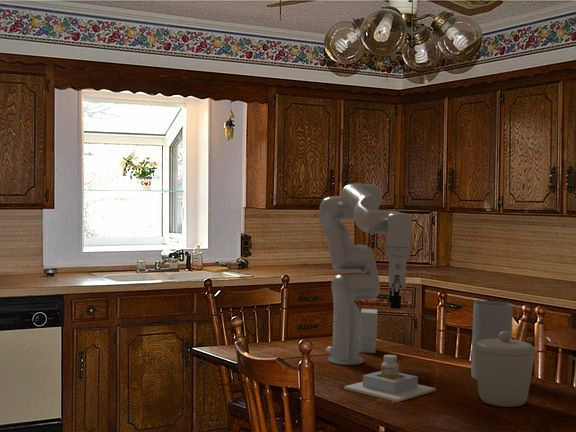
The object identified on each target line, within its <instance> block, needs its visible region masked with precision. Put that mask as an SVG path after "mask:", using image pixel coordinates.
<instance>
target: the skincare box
mask: <svg viewBox="0 0 576 432" xmlns="http://www.w3.org/2000/svg"><path fill="white" fill-rule="evenodd" d="M378 312H379V311H378V309H374V308H373V309H372V308H361V311H360V340H359V353H365V354H366V353H367V354H376V352H377V351H376V350H377V336H378Z"/></svg>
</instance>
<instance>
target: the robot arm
mask: <svg viewBox="0 0 576 432" xmlns="http://www.w3.org/2000/svg"><path fill="white" fill-rule="evenodd" d="M382 200H383V192H382V190H381V188H380V187H379V186H378V185H377V184H373V183H356V182H355V183H349V184H346V185H345V186H344V187H343V188H342V189H341V192H340V195H336V196H335V195H333V196H327V197H325V198H323V199H322V200H321V201H320V202H321V203H320V204H319V214H318V215H319V219H320V223H321V226H322V229H323V231H324V233H325V236H326V241H327V246H328V252H329V256H330V257H329V258H330V262H331V265H332V268H333V269H334V270H335V271H338V272H339V271H340V272H343V273H339V274H336V275H335V276H334V277H333V278H332V280H331V292H332V293H331V295H332V299H333V300H332V301H333V302H332V303H333V305H332V306H333V317H332V318H333V319H332V324H333V325H332V346H327V347H326V348H325V350H324V352H325V353H327V354H329V356H327V357H328V358H327V361H328V362H329V363H331V364H334V365H343V366H344V365H345V366H354V365H355V366H356V365H360V364H363V363H364V358H363V357H361V356H360V352H359V341H360V318H361V311H360V309H359V307H358V305H357V304H356V302H355V301H358V300H374V299H377V297H378V296H379V294H380V290H381V285H380V279H379V274H378V268H377V263H376V258H375V254H374V252H373V250H372V248H371V247H370V246H368V245H366V244H353V243H352V238H351V233H350V232H349V230H348V228H347V227H346V225H345V224H344V223H343V222H341V220H345V221H346V220H351V221H352V220H353V221H354V223H355V225H356V227H358V228H359V229H360V230H361V231H362V232H364V233H367V234H370V235H372V234H373V235H374V234H375V235H377V234H379V235H381V234H386V235H385V236H386V240H385V254H384V255H385V257H387V258H388V285H389V288H390V290H389V297H388V302H389V303H390V309H396V310H397V309H398V310H400V309H402V306H401V305H402V289H403V290H405V289H406V279H407V278H406V276H407V258H408V259H409V258H410V253H411V252H410V249H411V247H410V246H411V235H412V234H411V233H412V232H411V231H412V230H411V229H412V217H411V216H412V215H411V214H409V213H405V212H400V211H398V210H397V211H396V210H379V208H380V205H381V204H382Z"/></svg>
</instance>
